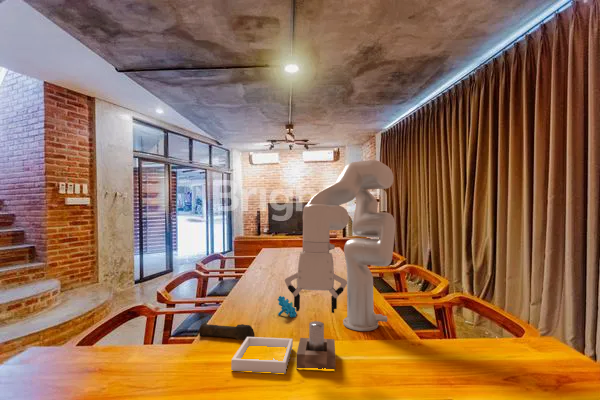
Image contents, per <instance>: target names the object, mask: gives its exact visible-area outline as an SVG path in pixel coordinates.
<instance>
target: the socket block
mask: <svg viewBox="0 0 600 400" xmlns="http://www.w3.org/2000/svg"><path fill="white" fill-rule="evenodd" d="M335 343H336V342H335V339H333V338H324V351H309V337H300V338H299V342H298V345H297V350H296V369H297V368H318V369H322V368H323V369H324V368H326V369H335V370H336V344H335Z"/></svg>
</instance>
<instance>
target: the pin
mask: <svg viewBox="0 0 600 400" xmlns="http://www.w3.org/2000/svg"><path fill="white" fill-rule="evenodd" d="M308 326H309V329H308V330H309V331H308V332H309V336H308V338H309V351H324V339H325V324H324V322H321V321H318V320H314V321H311V322H309V325H308Z"/></svg>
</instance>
